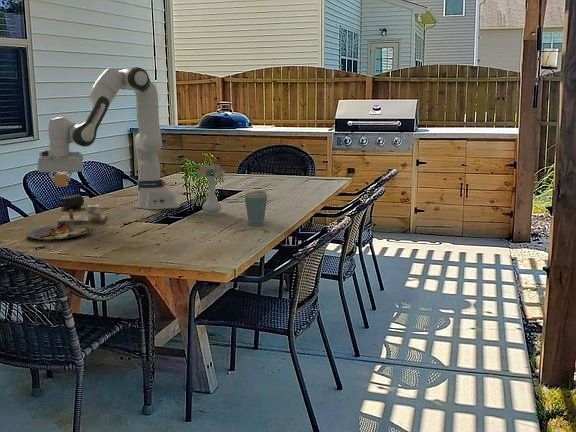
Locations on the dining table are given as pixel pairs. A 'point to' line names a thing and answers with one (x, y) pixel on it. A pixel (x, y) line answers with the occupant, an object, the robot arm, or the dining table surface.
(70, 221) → the peg board
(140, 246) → the dining table surface
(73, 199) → the end cap
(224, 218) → the dining table surface
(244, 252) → the dining table surface
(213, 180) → the flower vase
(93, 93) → the robot arm
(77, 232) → the food plate
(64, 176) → the tan wooden cube
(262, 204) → the disposable coffee cup
